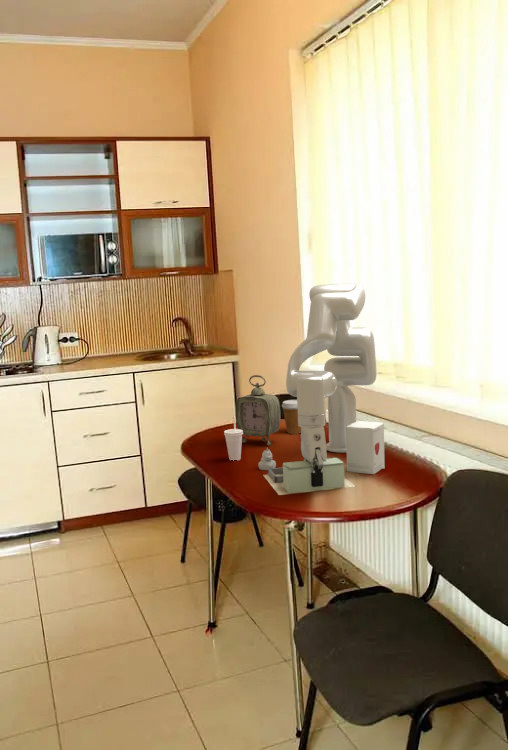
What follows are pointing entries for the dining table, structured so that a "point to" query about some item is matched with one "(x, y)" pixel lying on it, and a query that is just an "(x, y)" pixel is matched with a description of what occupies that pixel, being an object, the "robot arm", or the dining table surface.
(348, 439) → the supplement box
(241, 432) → the smoothie
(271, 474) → the socket
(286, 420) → the disposable coffee cup
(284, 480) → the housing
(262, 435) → the tabletop clock
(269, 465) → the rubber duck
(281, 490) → the board
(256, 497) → the dining table surface
